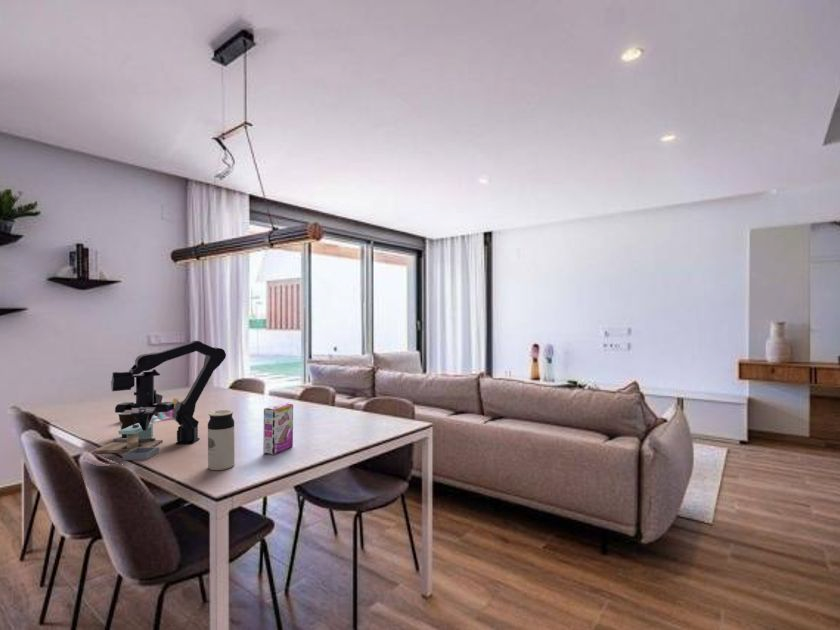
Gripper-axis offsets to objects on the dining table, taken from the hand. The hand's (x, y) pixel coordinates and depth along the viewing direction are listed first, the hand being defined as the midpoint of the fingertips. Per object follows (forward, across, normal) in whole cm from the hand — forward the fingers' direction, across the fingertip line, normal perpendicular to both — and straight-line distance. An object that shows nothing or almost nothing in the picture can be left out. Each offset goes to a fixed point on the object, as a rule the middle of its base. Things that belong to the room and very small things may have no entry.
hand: (145, 430), depth 166 cm
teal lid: (+5, +5, -2) cm, 7 cm away
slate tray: (+7, -3, +8) cm, 12 cm away
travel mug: (+7, -36, +21) cm, 43 cm away
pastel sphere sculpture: (+8, +25, -52) cm, 58 cm away
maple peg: (+7, +5, 0) cm, 8 cm away
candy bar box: (+7, -50, +4) cm, 51 cm away
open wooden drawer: (+7, +7, -2) cm, 10 cm away
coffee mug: (+7, +16, -17) cm, 24 cm away
